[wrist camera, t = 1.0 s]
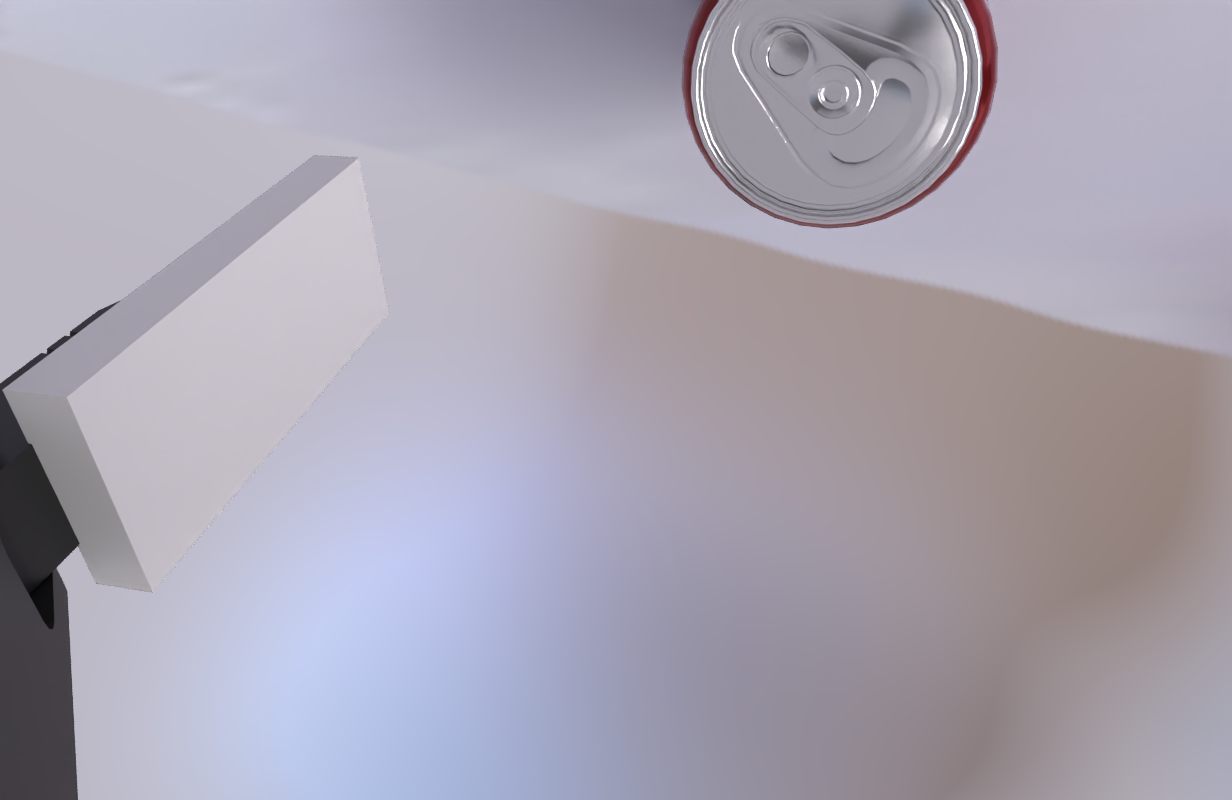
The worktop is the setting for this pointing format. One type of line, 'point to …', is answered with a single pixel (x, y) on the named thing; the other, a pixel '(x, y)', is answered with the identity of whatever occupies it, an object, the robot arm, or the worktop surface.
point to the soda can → (838, 101)
